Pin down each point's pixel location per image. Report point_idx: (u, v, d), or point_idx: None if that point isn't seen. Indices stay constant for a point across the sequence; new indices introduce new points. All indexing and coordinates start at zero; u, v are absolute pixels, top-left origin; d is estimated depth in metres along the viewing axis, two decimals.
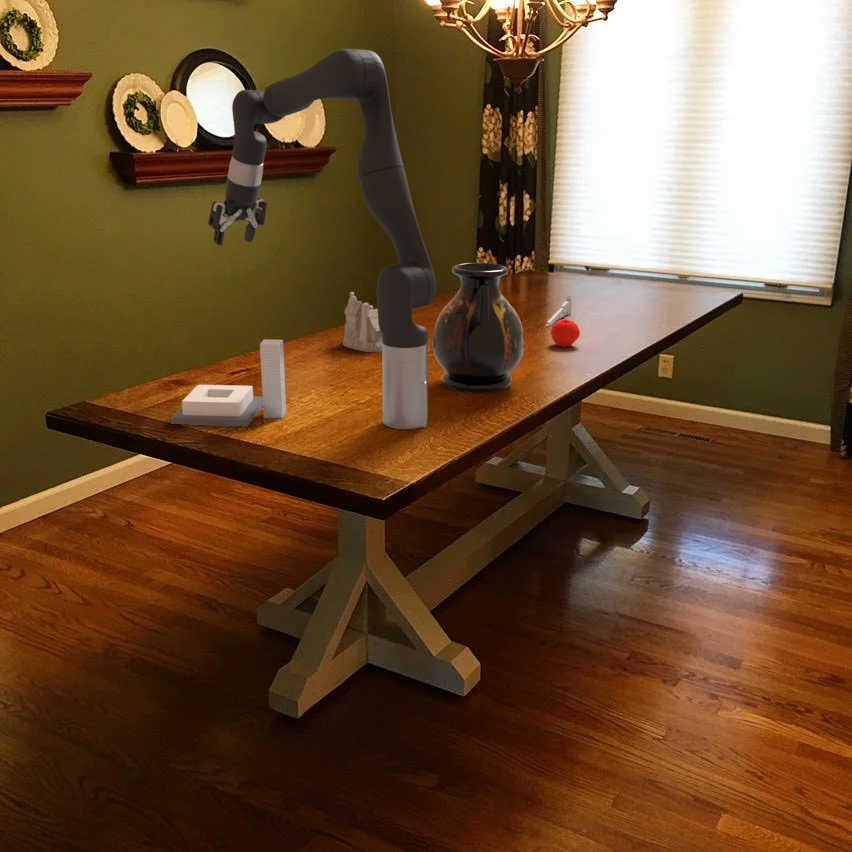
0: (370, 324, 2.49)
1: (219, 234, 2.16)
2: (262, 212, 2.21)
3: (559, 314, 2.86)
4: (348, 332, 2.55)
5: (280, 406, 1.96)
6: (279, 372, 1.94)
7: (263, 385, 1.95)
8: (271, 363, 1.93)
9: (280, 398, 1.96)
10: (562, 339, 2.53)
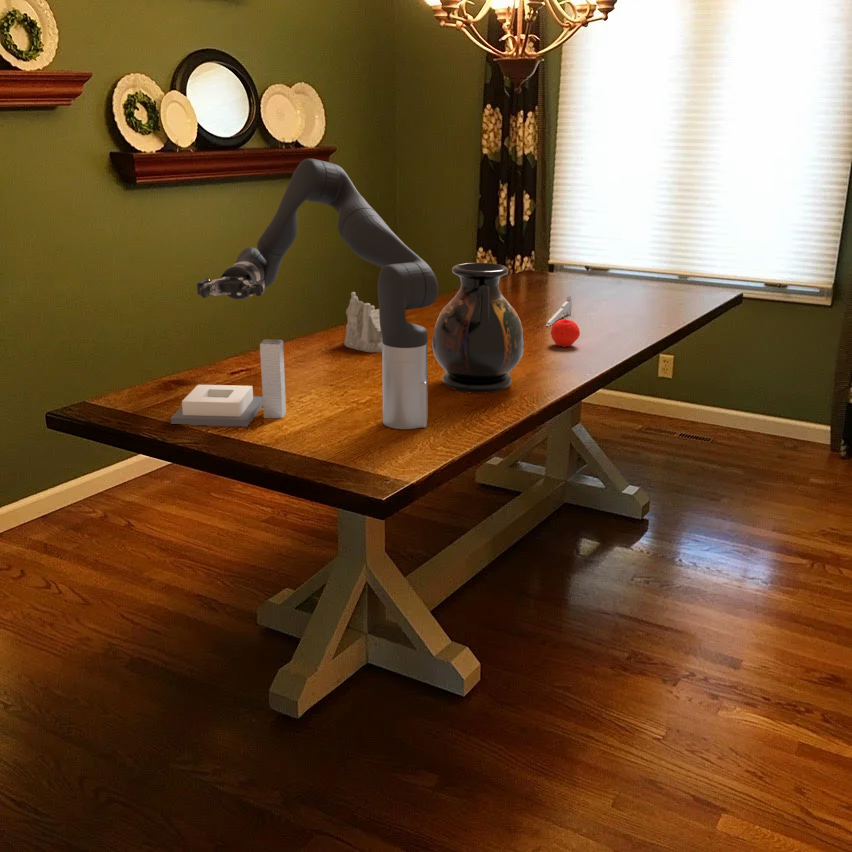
0: (372, 324, 2.49)
1: None
2: (258, 282, 2.07)
3: (559, 314, 2.86)
4: (350, 332, 2.54)
5: (280, 406, 1.96)
6: (279, 372, 1.94)
7: (263, 385, 1.95)
8: (271, 363, 1.93)
9: (280, 398, 1.96)
10: (562, 339, 2.53)
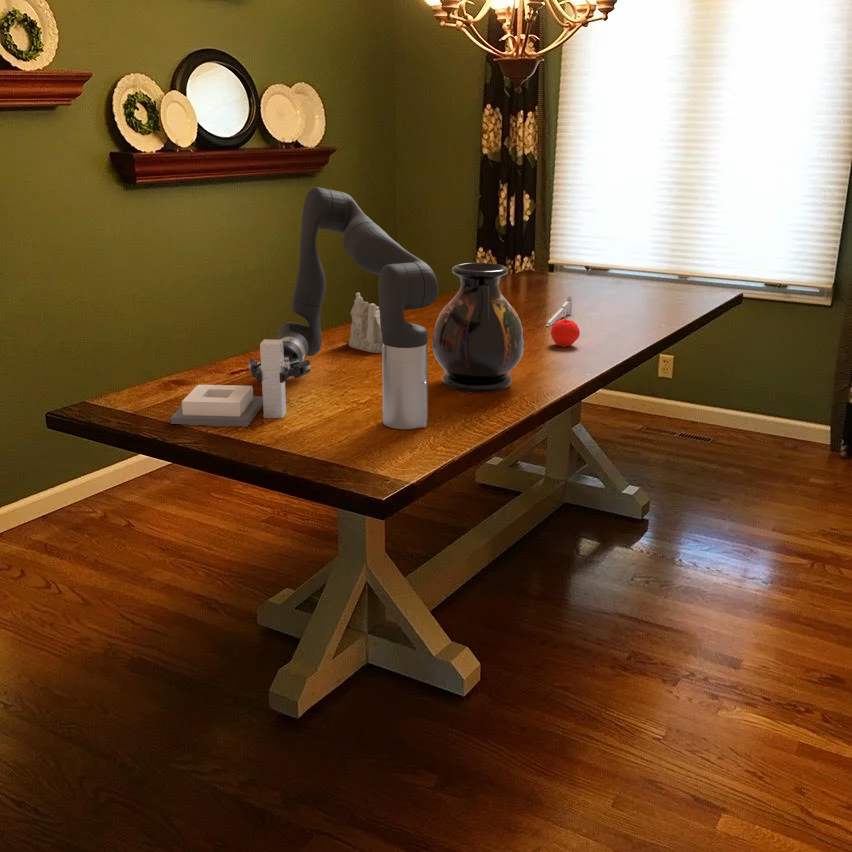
0: (377, 325, 2.49)
1: (259, 370, 1.96)
2: (301, 363, 2.00)
3: (559, 314, 2.86)
4: (354, 333, 2.54)
5: (280, 406, 1.96)
6: (279, 372, 1.94)
7: (263, 385, 1.95)
8: (271, 363, 1.93)
9: (280, 398, 1.96)
10: (562, 339, 2.53)
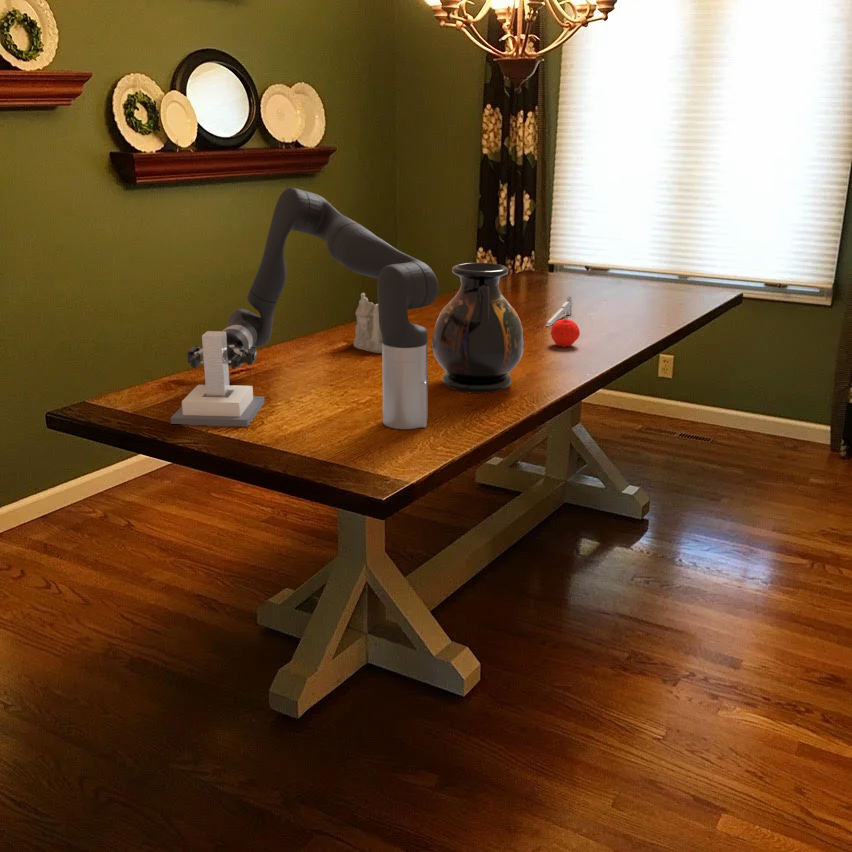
0: None
1: None
2: (250, 349, 2.01)
3: (559, 314, 2.86)
4: (359, 333, 2.53)
5: None
6: (222, 364, 1.94)
7: (206, 377, 1.95)
8: (214, 355, 1.94)
9: (223, 390, 1.96)
10: (562, 339, 2.53)
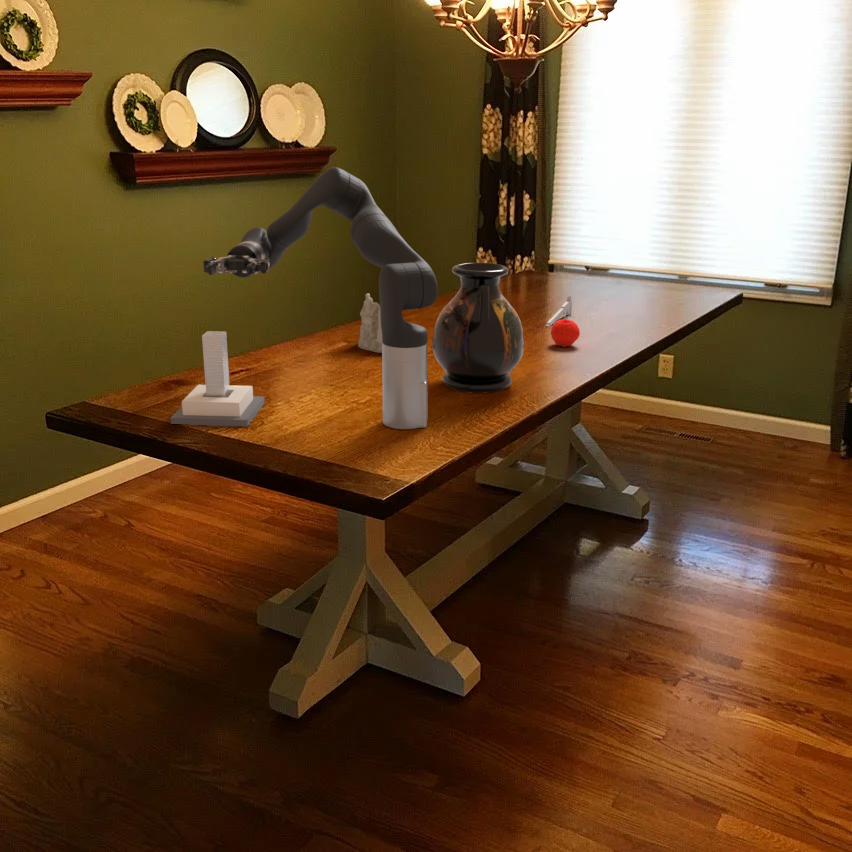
0: None
1: None
2: (263, 259, 2.11)
3: (559, 314, 2.85)
4: (364, 334, 2.53)
5: None
6: (222, 364, 1.94)
7: (206, 377, 1.95)
8: (214, 355, 1.94)
9: (223, 390, 1.96)
10: (562, 339, 2.53)
